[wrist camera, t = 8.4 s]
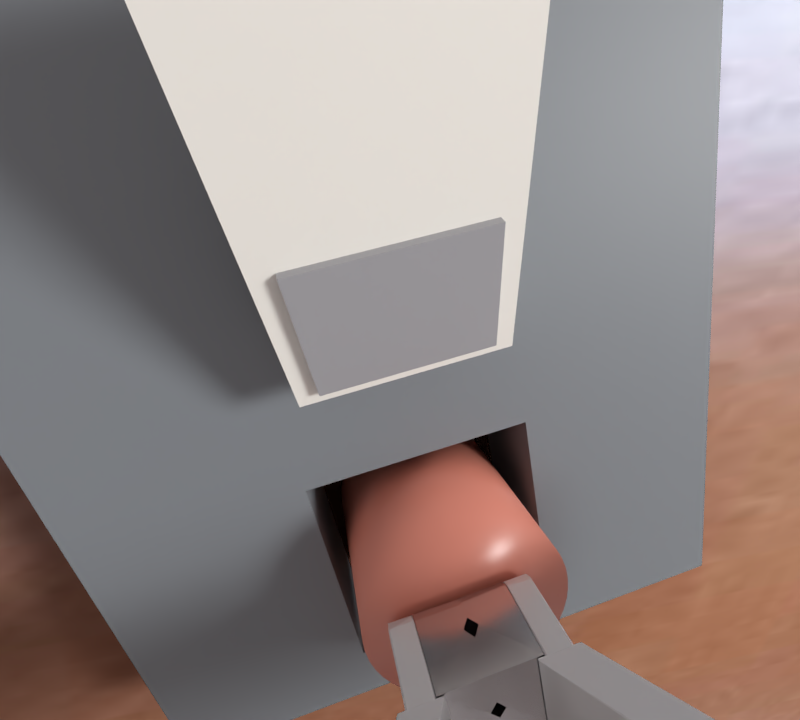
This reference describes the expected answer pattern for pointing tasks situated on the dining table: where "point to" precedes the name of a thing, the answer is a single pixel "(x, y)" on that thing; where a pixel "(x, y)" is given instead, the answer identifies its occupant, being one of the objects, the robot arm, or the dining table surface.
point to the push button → (438, 541)
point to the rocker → (362, 169)
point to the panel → (357, 411)
